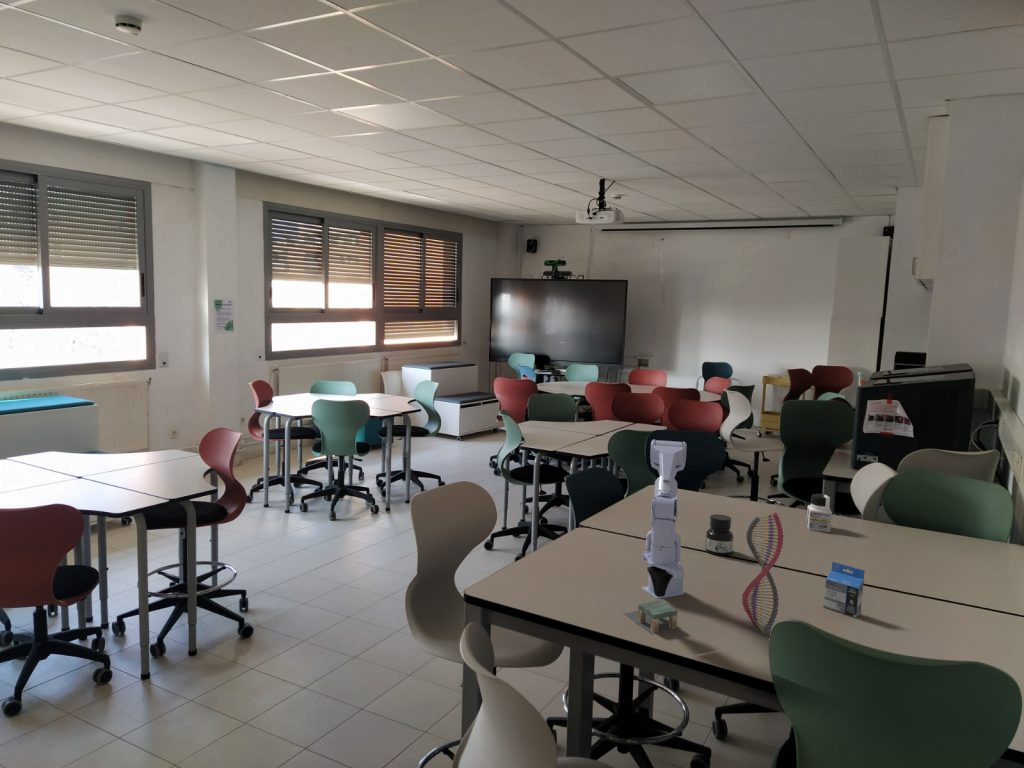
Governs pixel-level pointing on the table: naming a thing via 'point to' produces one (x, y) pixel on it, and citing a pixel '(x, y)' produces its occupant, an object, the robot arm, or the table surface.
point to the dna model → (763, 571)
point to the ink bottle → (719, 535)
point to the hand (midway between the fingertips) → (659, 595)
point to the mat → (647, 625)
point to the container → (819, 513)
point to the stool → (657, 614)
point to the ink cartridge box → (844, 590)
